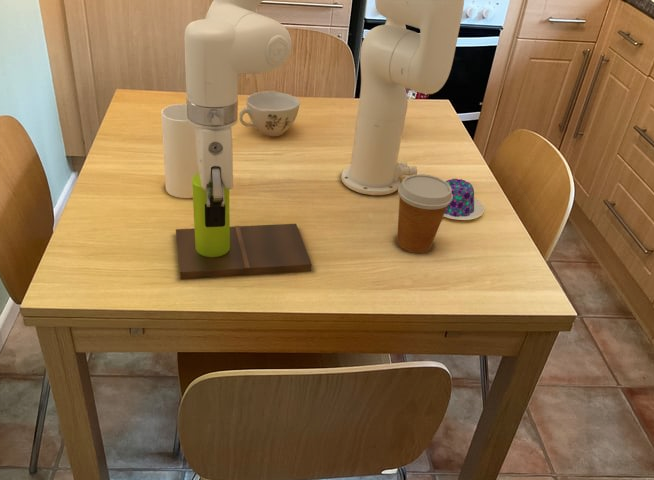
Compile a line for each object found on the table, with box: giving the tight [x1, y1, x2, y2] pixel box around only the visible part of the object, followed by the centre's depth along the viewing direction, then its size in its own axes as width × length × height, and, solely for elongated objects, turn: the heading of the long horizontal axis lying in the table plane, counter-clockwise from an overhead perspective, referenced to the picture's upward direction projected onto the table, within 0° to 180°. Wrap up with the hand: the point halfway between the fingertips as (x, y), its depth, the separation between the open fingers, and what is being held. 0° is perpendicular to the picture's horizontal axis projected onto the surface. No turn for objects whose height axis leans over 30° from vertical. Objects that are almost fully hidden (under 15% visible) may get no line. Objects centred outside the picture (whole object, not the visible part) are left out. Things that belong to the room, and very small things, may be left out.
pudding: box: [443, 178, 485, 221], centre depth 126 cm, size 12×12×5 cm
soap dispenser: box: [192, 173, 231, 257], centre depth 102 cm, size 6×7×20 cm
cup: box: [160, 103, 199, 199], centre depth 122 cm, size 8×8×16 cm
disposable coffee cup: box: [396, 173, 453, 254], centre depth 112 cm, size 10×10×12 cm
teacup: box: [238, 90, 301, 137], centre depth 148 cm, size 15×12×8 cm
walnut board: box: [175, 223, 313, 280], centre depth 109 cm, size 22×13×2 cm, turn 101°
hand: (212, 214), depth 104 cm, fingers open, 6 cm apart
